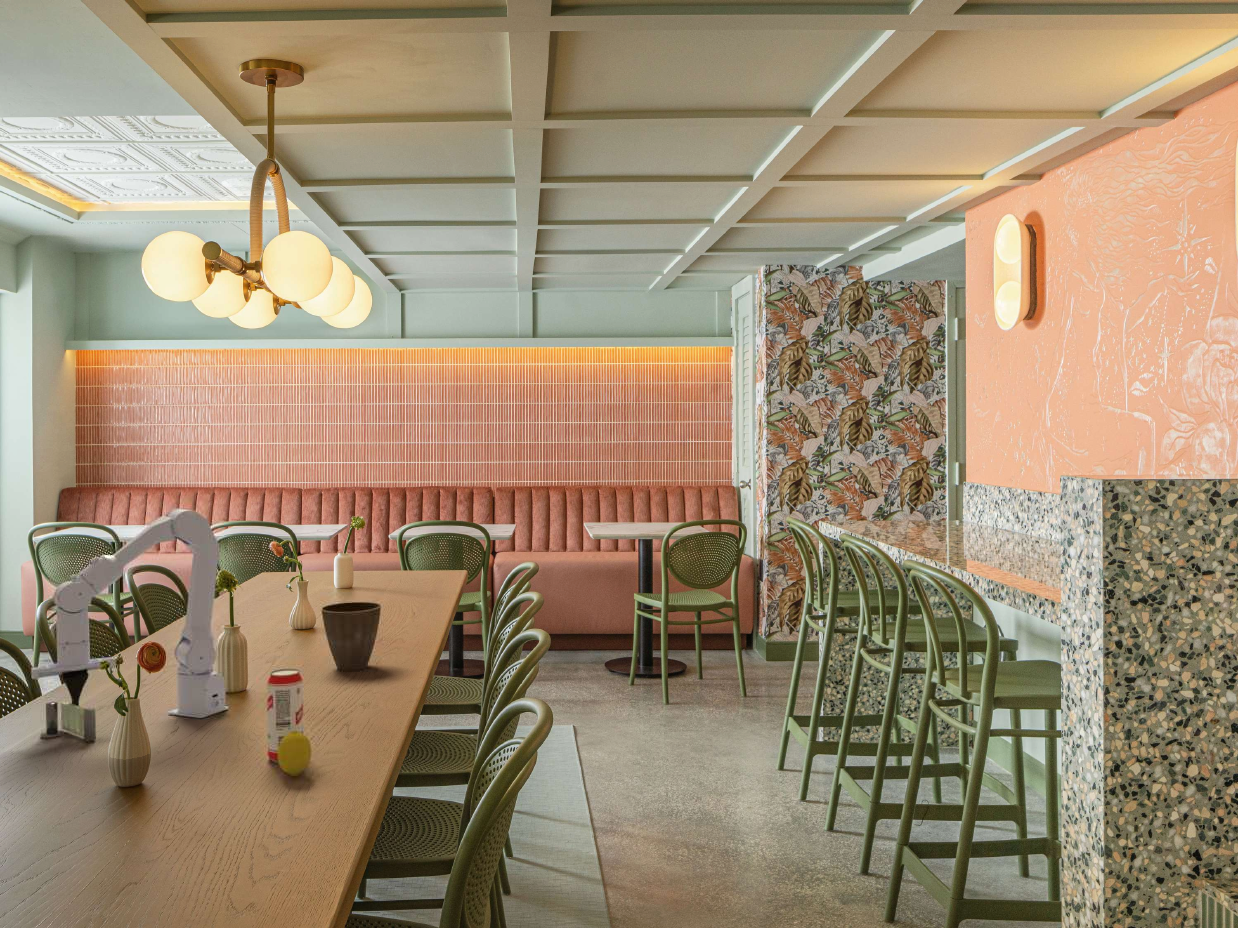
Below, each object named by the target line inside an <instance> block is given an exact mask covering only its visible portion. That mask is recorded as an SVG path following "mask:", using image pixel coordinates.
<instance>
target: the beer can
mask: <svg viewBox="0 0 1238 928" xmlns="http://www.w3.org/2000/svg"><path fill="white" fill-rule="evenodd" d="M269 674H270V676H269V678H268V680H267V683H266V691H267V694H266V695H267V696H266V697H267V698H266V699H267V700H266V707H267V721H266V722H267V725H266V726H267V757H268V759H269V760H271V761H272V762H273V763H277V764H279V762H278V748H279V745H280V742H281V740H282V739H283V738H284V737H285V736H286V735H287V734H289V733H291V732H292V731H293V730H296V731H297V732H300V733H302V734H304V685H303V684H304V681H303V678H302V676H301V674H300V669H297V668H281V669H276V670H272V671H271V672H269ZM304 735H305V734H304Z"/></svg>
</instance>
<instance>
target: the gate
mask: <svg viewBox="0 0 1238 928" xmlns="http://www.w3.org/2000/svg"><path fill="white" fill-rule="evenodd" d="M60 717H61V718H60V720H61V721H60V725H61V728H60V730H62V731H65V732H69V733H72V734H74V735H77V736H79V737H82V738H83V741H84V742H93V741H96V740H97V737H96V735H97V734H96V733H97V732H96V731H97V730H96V728H97V727H96V726H97V725H96V718H97V716H96V708H95V707H88V708H85V707H83V706H80V705H79V706H77V705H74V704H72V702H68V701H63V702H60Z"/></svg>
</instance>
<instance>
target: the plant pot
mask: <svg viewBox="0 0 1238 928" xmlns="http://www.w3.org/2000/svg"><path fill="white" fill-rule="evenodd" d="M320 609H321V616H322V620H323V621H322V622H323V626H324V631H325V636H326V640H327V643H328V647H329V650H330V652H331V656H332V658H333V661H334V663H335V666H336V668H337V670H338V669H339V671H341V670H342V672H354V671H360V670H361V669H362V670H365V669H366V668H367V667H368V665H369V662H370V659H371V657H372V653H373V650H374V646H375V643H376V638H377V634H378V630H379V624H380V618H381V610H382V604H380V603H376V602H369V601H368V602H367V601H358V602H357V601H351V602H341V603H340V602H339V603H334V604H328V605H325V606H322V607H321V608H320ZM362 670H361V671H362Z"/></svg>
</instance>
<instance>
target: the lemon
mask: <svg viewBox="0 0 1238 928" xmlns="http://www.w3.org/2000/svg"><path fill="white" fill-rule="evenodd" d="M311 759H312V747H311V743H310V740H309V738H308V737H307V735H306V734H302V733H300V732H297V731H296V730H293V731H292V732H291V733H289V734H287V735H286V736H285V737H284V738H283V739H282V740H281V742H280V745H279V748H278V762H279V763H278V765H279V766H280V768H281V770H283V772H286V773H288V774H290V775H291V776H292V777H297V776H298V775H299V774H300V773H301V772H302V771H304V770H306V768H307V767H308V766H309V764H310V762H311Z"/></svg>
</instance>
